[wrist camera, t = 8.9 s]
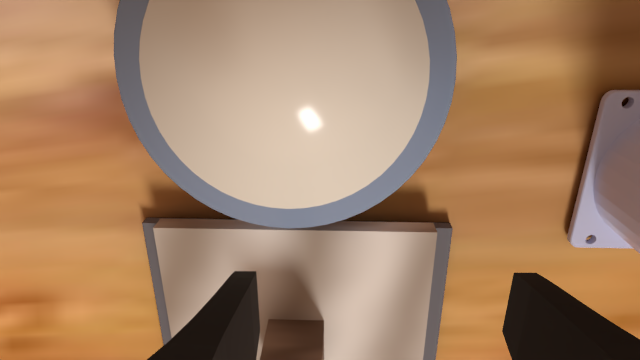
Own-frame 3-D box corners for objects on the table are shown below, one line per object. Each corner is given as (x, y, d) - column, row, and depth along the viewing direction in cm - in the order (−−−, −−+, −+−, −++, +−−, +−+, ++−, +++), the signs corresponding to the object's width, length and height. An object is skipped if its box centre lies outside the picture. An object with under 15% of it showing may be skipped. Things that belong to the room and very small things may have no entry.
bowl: (452, -103, 17) (480, -127, 14) (423, 196, 22) (438, 232, 19) (128, -100, 18) (79, -123, 15) (170, 192, 23) (141, 227, 20)
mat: (449, 222, 23) (452, 228, 22) (425, 415, 28) (427, 423, 28) (146, 217, 24) (142, 223, 23) (179, 407, 29) (176, 415, 28)
